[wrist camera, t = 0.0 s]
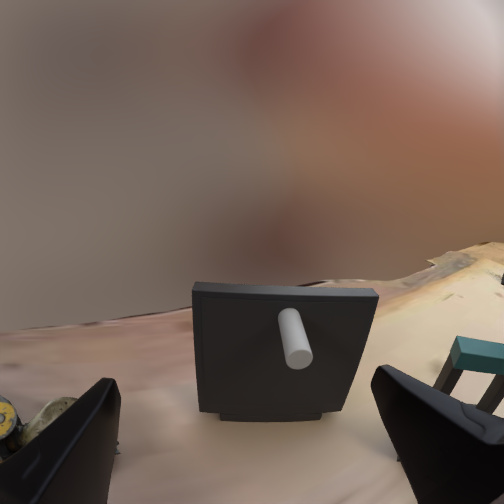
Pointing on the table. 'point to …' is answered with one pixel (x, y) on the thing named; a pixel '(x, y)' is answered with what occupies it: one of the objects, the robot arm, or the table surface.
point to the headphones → (474, 369)
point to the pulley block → (27, 425)
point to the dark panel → (277, 349)
